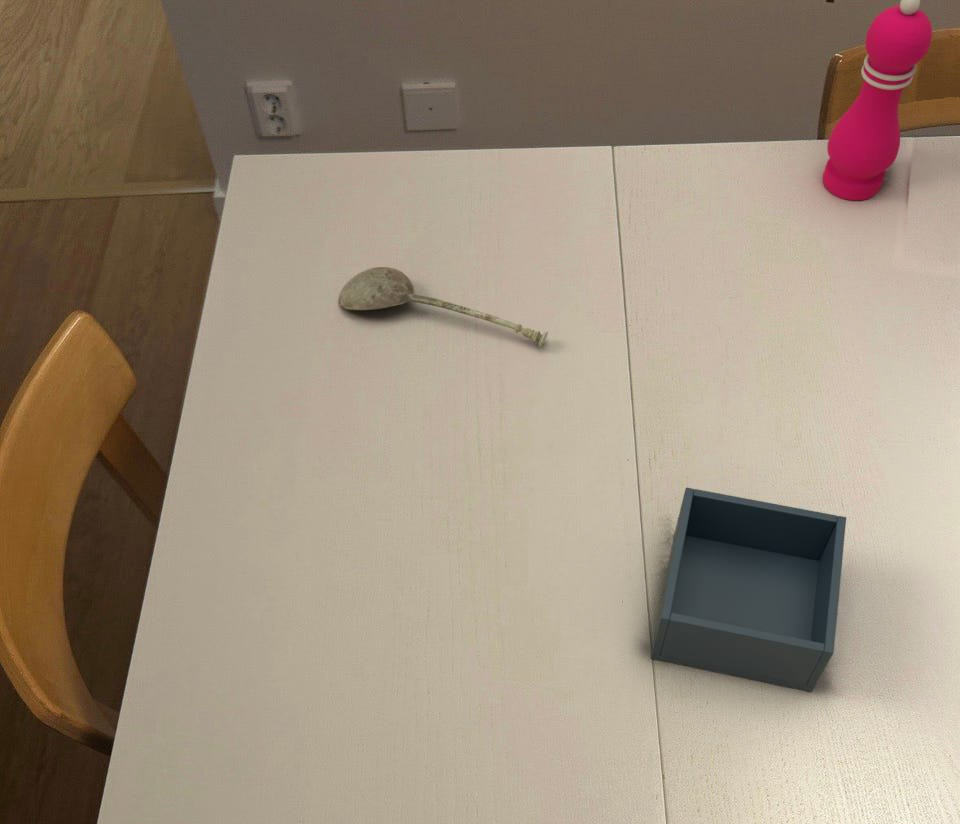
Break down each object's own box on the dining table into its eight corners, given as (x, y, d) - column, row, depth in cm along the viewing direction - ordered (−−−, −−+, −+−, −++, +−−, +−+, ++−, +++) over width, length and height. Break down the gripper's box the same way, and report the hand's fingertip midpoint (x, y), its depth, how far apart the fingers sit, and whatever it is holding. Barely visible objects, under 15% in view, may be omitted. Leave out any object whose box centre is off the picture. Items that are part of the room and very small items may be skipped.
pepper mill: (884, 165, 117) (951, -24, 100) (885, 207, 114) (955, 19, 96) (817, 158, 118) (872, -30, 101) (817, 200, 114) (873, 12, 97)
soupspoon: (358, 273, 110) (330, 317, 107) (352, 247, 107) (323, 292, 104) (557, 324, 105) (533, 371, 102) (557, 298, 102) (532, 346, 99)
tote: (825, 561, 90) (846, 516, 85) (811, 692, 84) (833, 653, 78) (674, 532, 92) (685, 486, 87) (650, 658, 86) (660, 617, 80)
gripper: (1086, -209, 101) (1020, 34, 107) (822, -234, 105) (771, 3, 110) (1117, -254, 94) (1044, 10, 100) (832, -279, 98) (777, -23, 103)
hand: (900, 7), depth 105 cm, fingers open, 13 cm apart
